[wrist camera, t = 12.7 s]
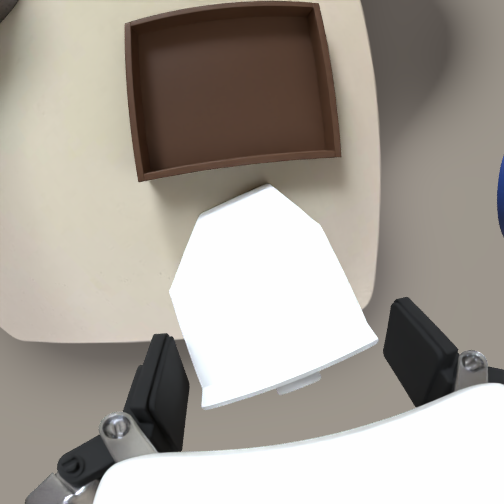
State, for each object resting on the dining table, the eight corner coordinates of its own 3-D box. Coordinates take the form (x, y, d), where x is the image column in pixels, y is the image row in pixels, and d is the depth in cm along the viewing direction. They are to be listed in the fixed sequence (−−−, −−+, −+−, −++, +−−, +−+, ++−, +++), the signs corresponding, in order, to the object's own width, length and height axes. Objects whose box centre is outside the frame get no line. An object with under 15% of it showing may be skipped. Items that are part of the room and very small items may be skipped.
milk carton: (198, 214, 26) (148, 346, 8) (268, 182, 26) (359, 257, 8) (231, 276, 29) (241, 447, 11) (296, 248, 28) (387, 391, 10)
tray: (310, 15, 20) (318, 3, 17) (329, 156, 25) (341, 157, 22) (133, 34, 19) (124, 23, 16) (147, 178, 24) (138, 182, 22)
